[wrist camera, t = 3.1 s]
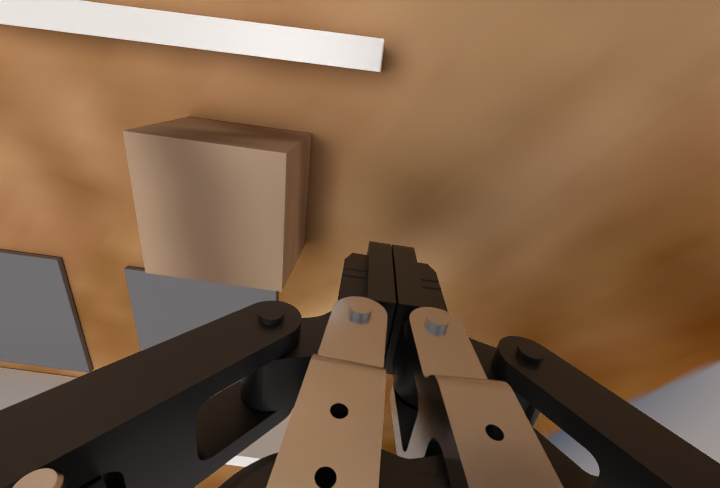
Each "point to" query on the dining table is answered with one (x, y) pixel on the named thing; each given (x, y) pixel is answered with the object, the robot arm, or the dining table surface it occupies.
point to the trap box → (147, 291)
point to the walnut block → (220, 200)
